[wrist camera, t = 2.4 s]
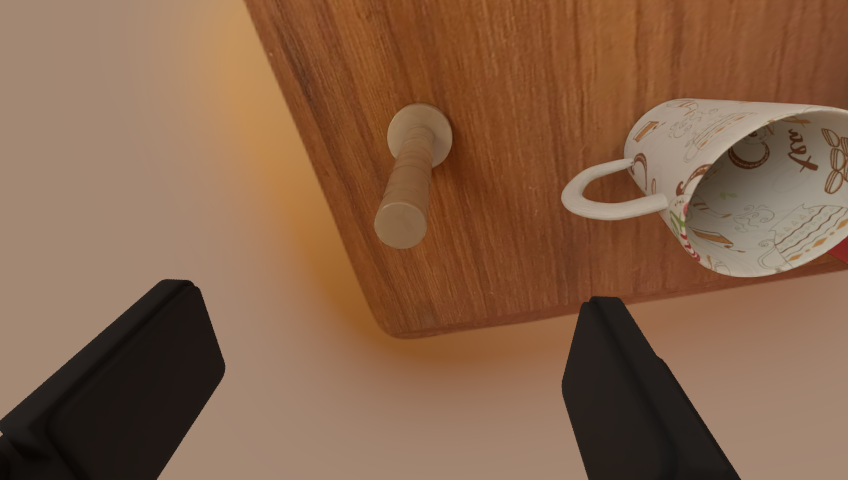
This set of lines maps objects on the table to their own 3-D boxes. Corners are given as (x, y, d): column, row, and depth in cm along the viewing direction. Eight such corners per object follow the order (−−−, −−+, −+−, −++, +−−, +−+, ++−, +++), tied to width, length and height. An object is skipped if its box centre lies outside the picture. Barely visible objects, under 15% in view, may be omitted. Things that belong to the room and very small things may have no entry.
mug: (734, 181, 27) (870, 254, 19) (555, 229, 30) (601, 313, 21) (738, 58, 24) (911, 77, 15) (533, 125, 26) (578, 174, 17)
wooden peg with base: (390, 165, 28) (347, 273, 16) (387, 101, 26) (336, 169, 14) (450, 166, 28) (455, 276, 16) (453, 103, 26) (461, 172, 13)
